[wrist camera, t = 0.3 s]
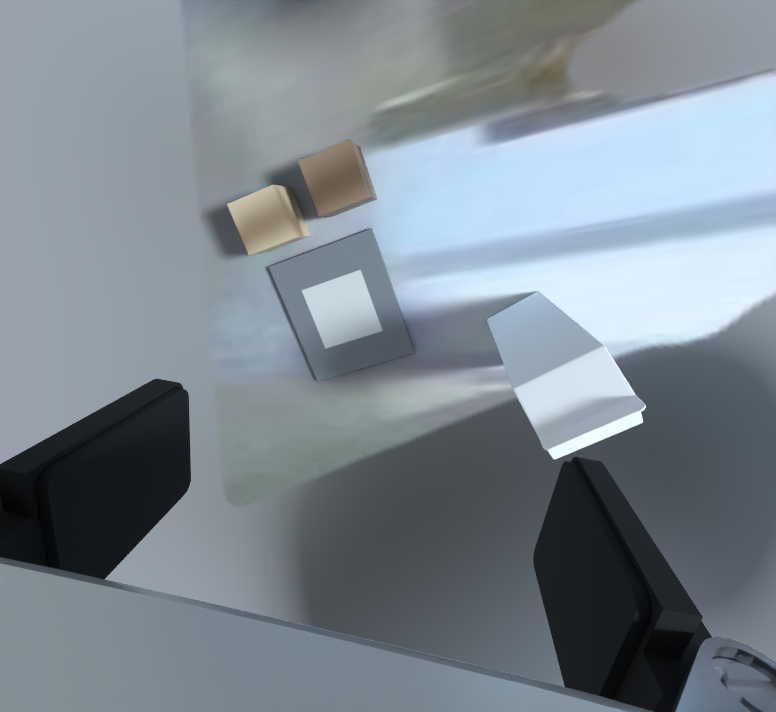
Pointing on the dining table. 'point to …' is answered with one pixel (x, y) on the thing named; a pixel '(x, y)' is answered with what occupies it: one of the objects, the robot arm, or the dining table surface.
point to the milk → (562, 376)
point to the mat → (343, 306)
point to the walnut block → (337, 179)
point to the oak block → (268, 219)
